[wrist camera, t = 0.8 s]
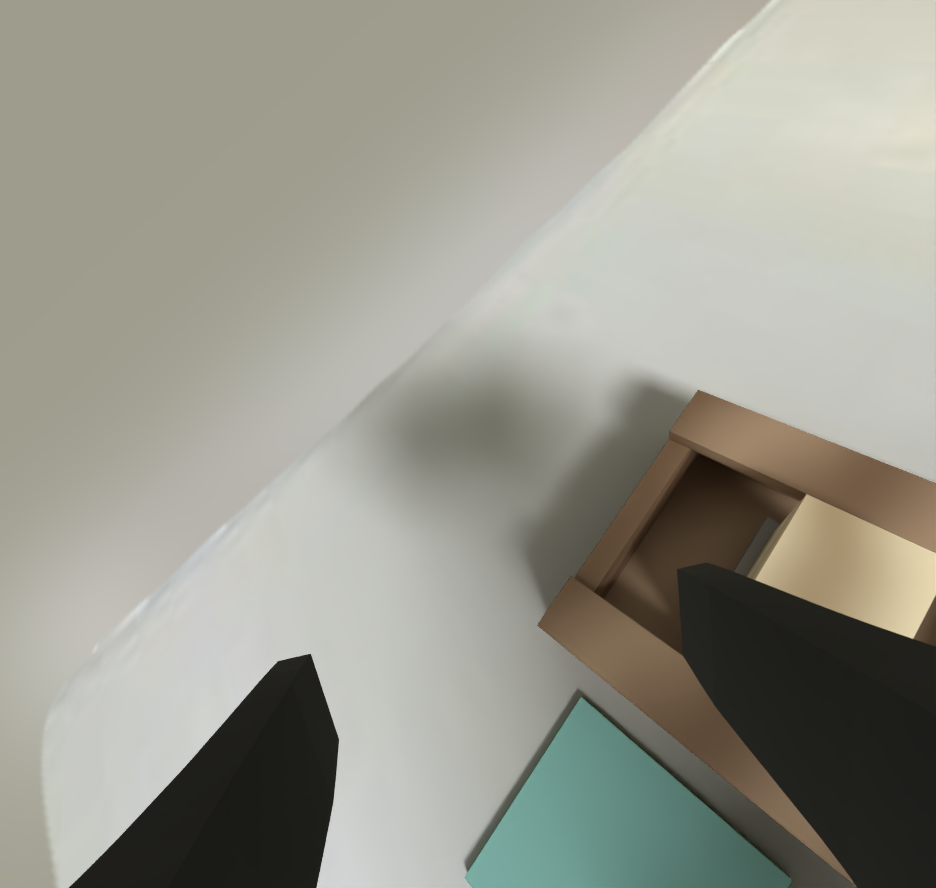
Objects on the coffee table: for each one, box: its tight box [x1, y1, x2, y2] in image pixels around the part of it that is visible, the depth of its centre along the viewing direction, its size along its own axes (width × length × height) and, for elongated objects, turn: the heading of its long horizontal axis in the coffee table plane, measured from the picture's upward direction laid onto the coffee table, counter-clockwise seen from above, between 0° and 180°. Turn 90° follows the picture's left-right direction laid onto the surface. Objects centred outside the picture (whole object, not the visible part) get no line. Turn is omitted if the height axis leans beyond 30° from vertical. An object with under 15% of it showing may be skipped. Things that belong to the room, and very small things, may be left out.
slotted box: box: [538, 390, 936, 886], centre depth 18 cm, size 15×13×5 cm
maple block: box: [746, 494, 936, 639], centre depth 16 cm, size 4×6×5 cm, turn 140°
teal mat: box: [464, 697, 792, 888], centre depth 18 cm, size 9×9×1 cm
